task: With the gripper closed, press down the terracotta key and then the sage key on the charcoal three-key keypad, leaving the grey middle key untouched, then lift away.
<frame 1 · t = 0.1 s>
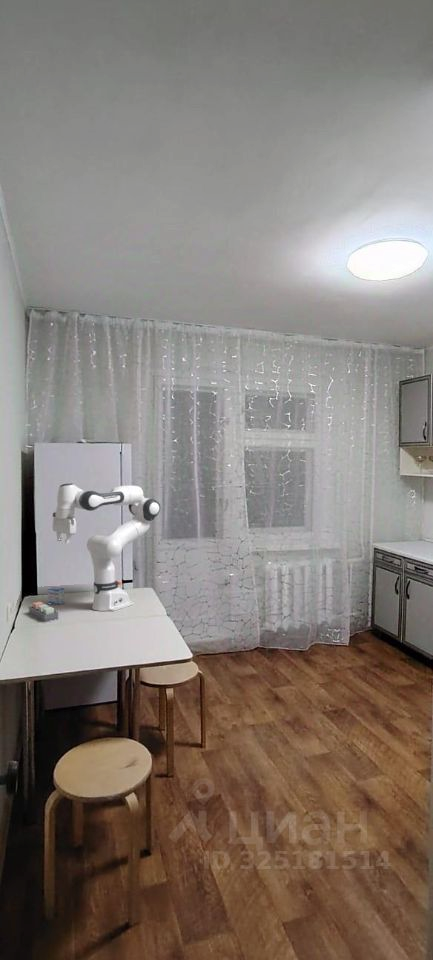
hand: (63, 541, 254), 39 cm above the table, tool pointing down, fingers open, 8 cm apart
grey key: (43, 608, 257), point 4 cm above the table, slide at 0.0 cm
medicine box: (56, 603, 281), on the table
keypad housing: (43, 616, 257), on the table
terracotta key: (38, 605, 262), point 4 cm above the table, slide at 0.0 cm
sage key: (48, 611, 252), point 4 cm above the table, slide at 0.0 cm
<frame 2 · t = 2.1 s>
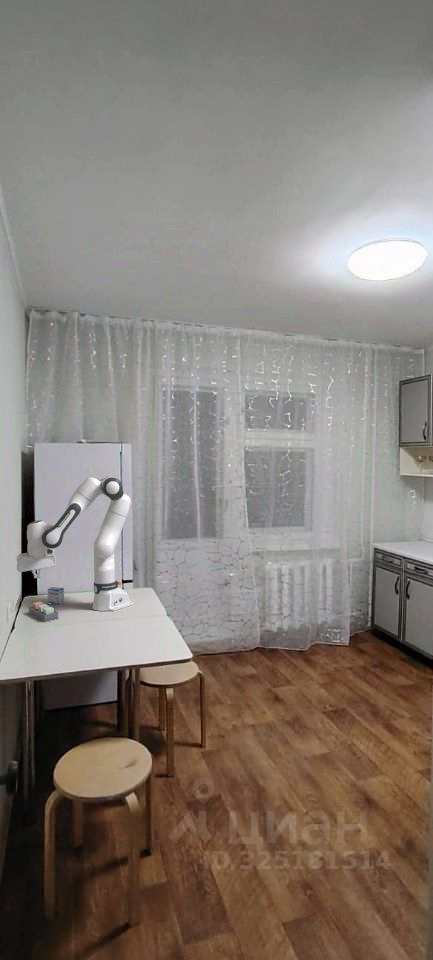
hand: (37, 577, 261), 19 cm above the table, tool pointing down, fingers closed
nothing on the table moved.
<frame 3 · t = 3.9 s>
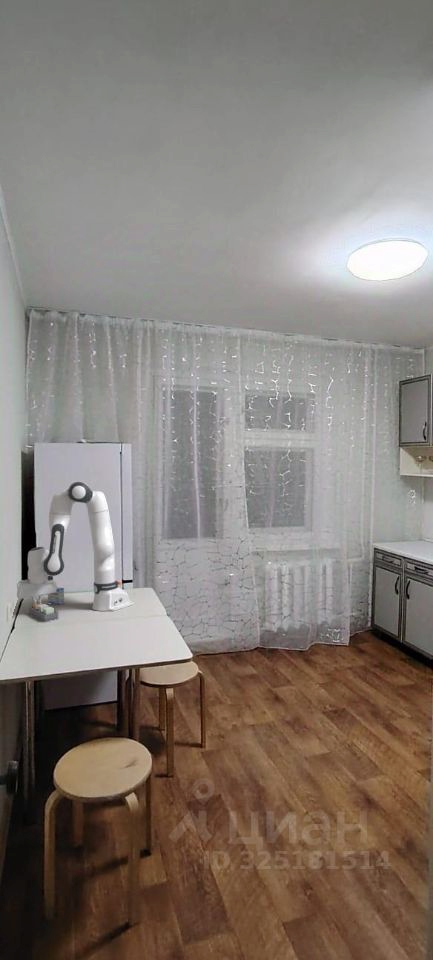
hand: (37, 604, 262), 5 cm above the table, tool pointing down, fingers closed, pressing on terracotta key
terracotta key: (38, 606, 262), point 3 cm above the table, slide at 0.5 cm, touching gripper
everything else where it was.
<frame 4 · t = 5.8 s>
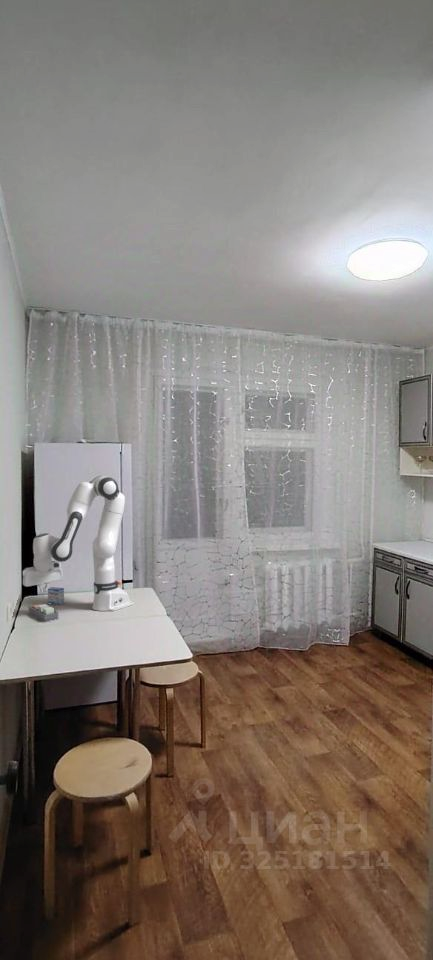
hand: (43, 591, 256), 13 cm above the table, tool pointing down, fingers closed
terracotta key: (38, 608, 262), point 3 cm above the table, slide at 1.3 cm
everything else where it was.
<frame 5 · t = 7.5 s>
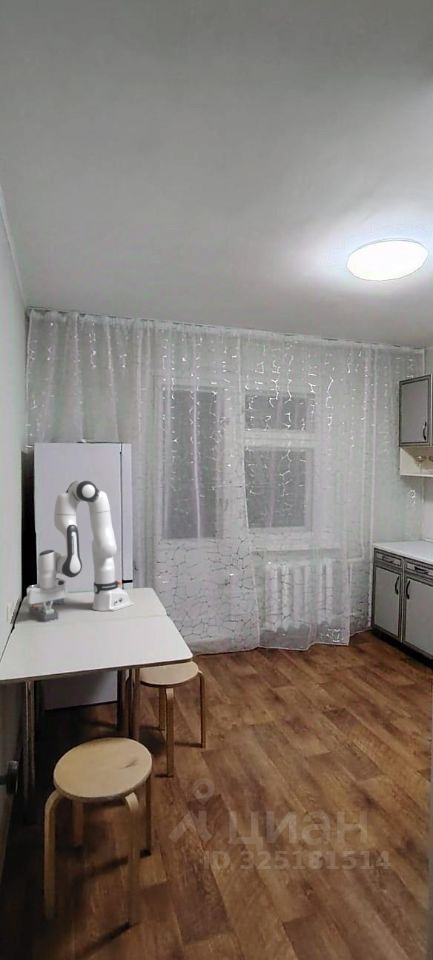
hand: (47, 609, 252), 5 cm above the table, tool pointing down, fingers closed, pressing on sage key
sage key: (48, 612, 252), point 3 cm above the table, slide at 0.8 cm, touching gripper
everything else where it was.
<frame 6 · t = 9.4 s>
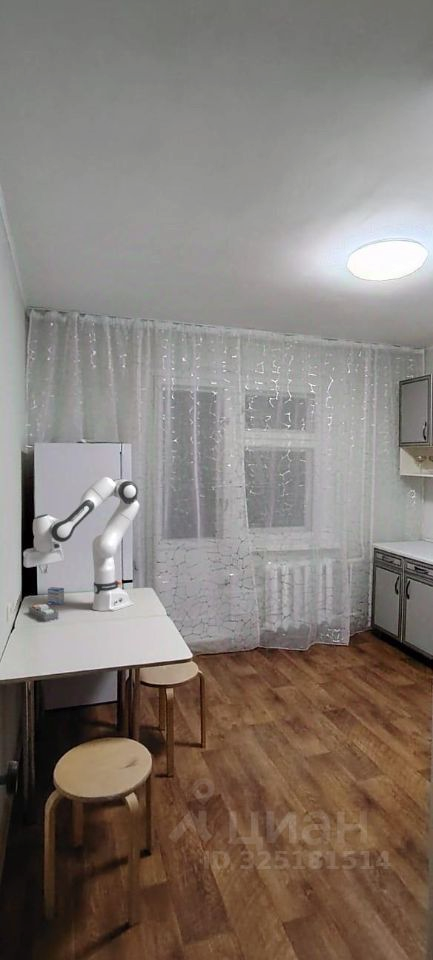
hand: (44, 573, 256), 23 cm above the table, tool pointing down, fingers closed
sage key: (48, 613, 252), point 3 cm above the table, slide at 1.3 cm
everything else where it was.
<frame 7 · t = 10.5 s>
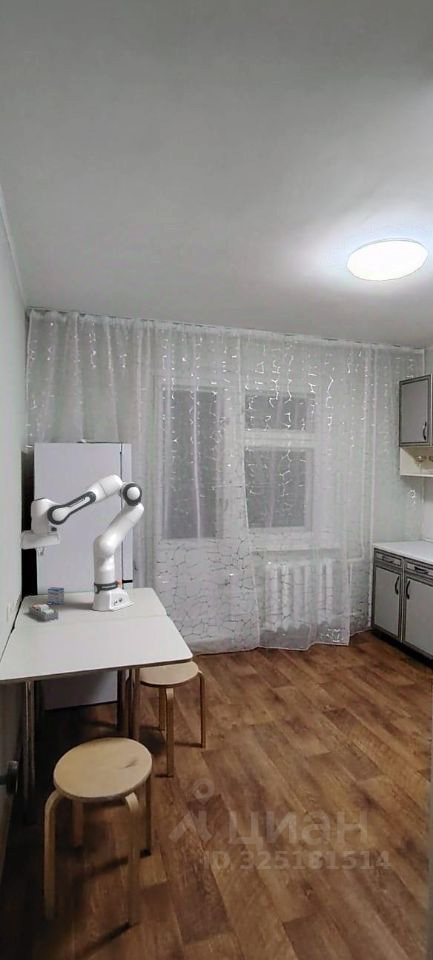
hand: (41, 555, 259), 31 cm above the table, tool pointing down, fingers closed
nothing on the table moved.
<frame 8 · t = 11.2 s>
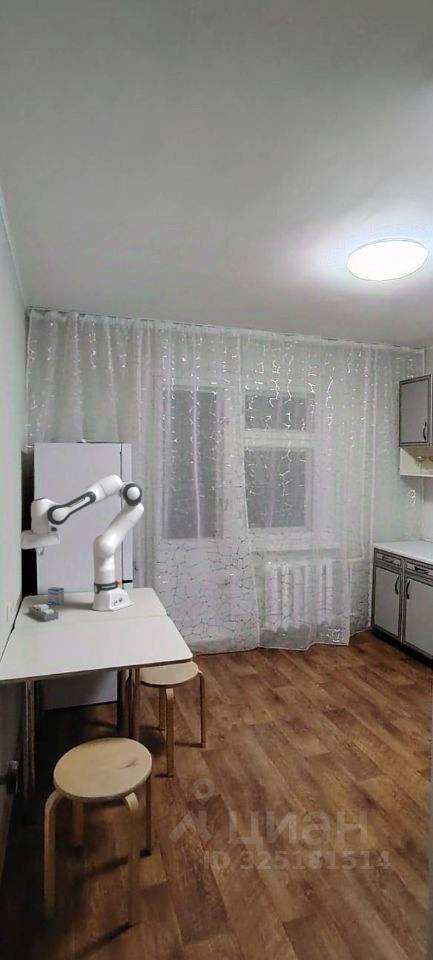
hand: (41, 555, 259), 31 cm above the table, tool pointing down, fingers closed
nothing on the table moved.
at the end: terracotta key slide at 1.3 cm; sage key slide at 1.3 cm; grey key slide at 0.0 cm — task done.
